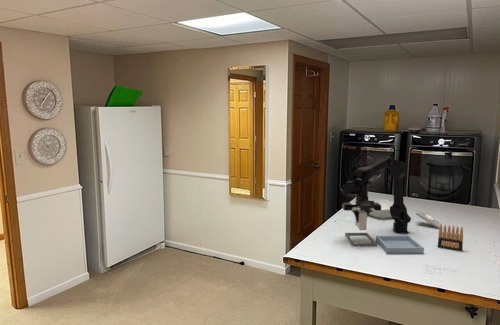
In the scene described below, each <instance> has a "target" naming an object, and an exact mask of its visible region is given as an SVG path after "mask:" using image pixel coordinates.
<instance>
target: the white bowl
mask: <svg viewBox="0 0 500 325" xmlns="http://www.w3.org/2000/svg"><path fill="white" fill-rule="evenodd" d="M371 201H374V203H379V204H380V205H381V210H374V208H372V211H373V212H370V213H369V215H368V216H371V217H374V218H377V219H378V220H386V219H392V216H391V213H390V206H392V205H393V203H394V201H392V200H391V201H390V200H387V199H372V200H371Z"/></svg>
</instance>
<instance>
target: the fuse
mask: <svg viewBox="0 0 500 325" xmlns="http://www.w3.org/2000/svg"><path fill="white" fill-rule="evenodd" d="M357 210H358V211H359V212H358V223H357V221H356V218H355V219H354V220H355V222H354V224H355V227H357V228H358V229H359V231H367V229H368V228H367V224H368V223H367V221H368V216H367V212H365V211H361V210H360V208H357Z"/></svg>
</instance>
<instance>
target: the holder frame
mask: <svg viewBox="0 0 500 325" xmlns="http://www.w3.org/2000/svg"><path fill="white" fill-rule="evenodd" d="M344 235H345V237H346V239H347V240H348V242H349V243H350V244H351V245H352V247H378V243H377V242H376V240H374V238H372V236H371V235H370V233H368V232H345V233H344ZM352 236H361V237H363V236H366V238H367V239H368V240H369V241H370V242H371V243H370V242H369V243H368V242H367V243H366V242H365V243H364V242H362V243H360V242H358V243H356V242H354V241H353V239H352V238H351V237H352Z"/></svg>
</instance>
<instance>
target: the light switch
mask: <svg viewBox="0 0 500 325" xmlns="http://www.w3.org/2000/svg"><path fill="white" fill-rule="evenodd" d="M415 215H416V216H418V217H419V218H421V219H423V220H424V221H426V222H427V223H429V224H430V225H431V226H433V227H435V228H436V229H438V230H439V229H440V225H441V224H442V222H439V221H437V220H436V219H435V218H433V217H432V216H430V215H429V214H427V213H425V212H424V211H422V210H420V209H418V210H417V211H416V213H415Z"/></svg>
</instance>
